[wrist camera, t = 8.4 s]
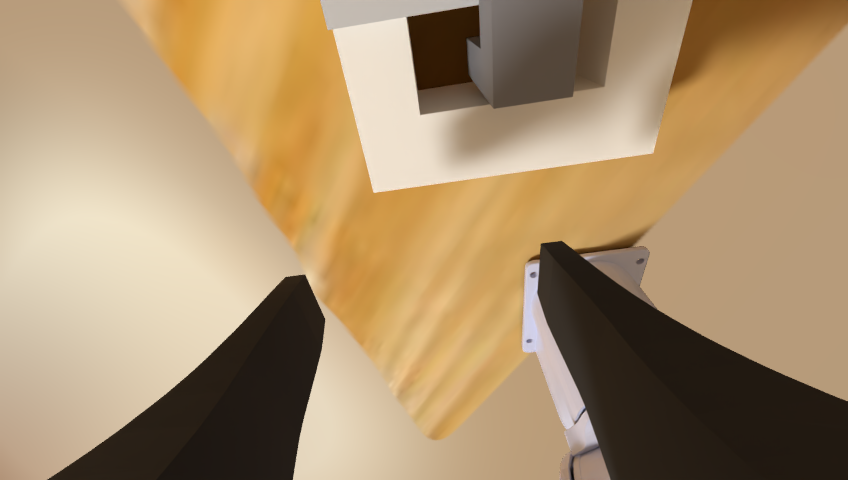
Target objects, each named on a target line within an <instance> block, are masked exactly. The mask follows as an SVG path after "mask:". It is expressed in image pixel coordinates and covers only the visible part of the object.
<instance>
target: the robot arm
mask: <svg viewBox="0 0 848 480" xmlns="http://www.w3.org/2000/svg"><path fill="white" fill-rule="evenodd" d="M648 257H649V250H648V249H647V248H646V247H644V246H640V247H632V248H624V249H617V250H609V251H601V252H593V253H585V254H578V253H577V252H575V251H574V250H573V249H572V248H570V247H569V246H568V245H566V244H565V243H564V242H562V241H558V242H550V243H543V244H541V249H540V259H539V260H532V261H529V262H528V263H527V264H526V266H525V282H524V305H523V328H522V349H523V351H524V352H536V353H537V355H538V359H539V361H540V364H541V367H542V370H543V373H544V375H545V378H546V381H547V384H548V387H549V389H550V392H551V395H552V398H553V401H554V403H555V406H556V409H557V412H558V414H559V417H560V419H561V421H562V423H563V425H564V427H565V428H566V429H567V430H566V431H565V432H564V433H565V436H566V439H567V442H568V445H569V447H570V450H571V452H569V453H567V454H566V455H565V456H564V457H563V458H562V461H561V465H560V480H848V401H845V400H843V399H840V398H837V397H835V396H833V395H830V394H828V393H825V392H823V391H820V390H818V389H816V388H813V387H811V386H809V385H806V384H804V383H802V382H799V381H797V380H795V379H792V378H790V377H788V376H785V375H783V374H781V373H779V372H776V371H774V370H772V369H770V368H767V367H765V366H763V365H761V364H759V363H757V362H754V361H752V360H750V359H748V358H746V357H744V356H742V355H740V354H738V353H736V352H734V351H732V350H730V349H728V348H726V347H724V346H722V345H720V344H718V343H716V342H714V341H712V340H710V339H708V338H706V337H704V336H702V335H701V334H699V333H697V332H695V331H693V330H691V329H690V328H688V327H686V326H684V325H683V324H681V323H679V322H677V321H676V320H674V319H672V318H670V317H669V316H667V315H665V314H664V313H662V312H660V311H659V310H657V308H656V307H655V306H654V304H653V303H652V302H651V301H650V299H649V298H648V297H647V296H646V294H645V293H644V292H643V291H642V289H641V288H640V287H639V286H640V283H641V280H642V276H643V273H644V270H645V267H646V264H647V260H648ZM638 259H639V260H638ZM532 272H535V273H534V274H531V273H532ZM324 326H325V318H324V316H323V313H322V311H321V309H320V307H319V305H318V302H317V300H316V298H315V296H314V293H313V291H312V289H311V287H310V285H309V282H308V280H307V278H306V276H305V275H298V276H290V277H285V278H284V279H283V280H282V281H281V282H280V283H279V284H278V285H277V286H276V288H275V289H274V290H273V291H272V292H271V293H270V294H269V295H268V296H267V297H266V298H265V299H264V301H262V303H261V304H260V305H259V306H258V307H257V308H256V309H255V310H254V311H253V312H252V313H251V314H250V315H249V316H248V317H247V319H246V320H245V321H244V322H243V323H242V324H241V325H240V326H239V327H238V328H237V329H236V330H235V331H234V332H233V333H232V334H231V335H230V336H229V337H228V338H227V339H226V340H225V341H224V342H223V343H222V344H221V345H220V346H219V347H218V348H217V349H216V350H215V351H214V352H213V353H212V354H211V355H210V356H209V357H208V358H207V359H206V360H204V361H203V362H202V363H201V364H200V365H199V366H198V367H197V368H196V369H195V370H194V371H192V372H191V373H190V374H189V375H188V376H187V377H186V378H184V379H183V380H182V381H181V382H180V383H178V384H177V385H176V386H175V387H174V388H173V389H171V390H170V391H169V392H168V393H167V394H166V395H164V396H163V397H162V398H161V399H159V400H158V401H157V402H155V403H154V404H153V405H151V406H150V407H149V408H148V409H146V410H145V411H144V412H142V413H141V414H140V415H139V416H137V417H136V418H135V419H133V420H132V421H131V422H129V423H128V424H127V425H126V426H124V427H123V428H122V429H120V430H119V431H118V432H116V433H115V434H113V435H112V436H111V437H109V438H108V439H106V440H105V441H104V442H102V443H101V444H99V445H98V446H97V447H95V448H94V449H92V450H91V451H90V452H88V453H87V454H85V455H84V456H82V457H81V458H79V459H78V460H76V461H75V462H73V463H72V464H70V465H69V466H67V467H66V468H65V469H63V470H62V471H60V472H59V473H57V474H55V475H54V476H52V477H51V478H49V479H48V480H293V474H294V468H295V462H296V456H297V449H298V443H299V437H300V433H301V428H302V423H303V419H304V415H305V411H306V408H307V404H308V400H309V397H310V393H311V389H312V385H313V381H314V377H315V374H316V370H317V366H318V362H319V358H320V354H321V350H322V343H323V334H324Z"/></svg>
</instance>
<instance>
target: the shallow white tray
mask: <svg viewBox="0 0 848 480" xmlns="http://www.w3.org/2000/svg"><path fill="white" fill-rule="evenodd" d="M320 1H321V5H322V9H323V13H324V17H325V21H326V25H327V28H328V30H332V29H333V32H334V36H335V40H336V44H337V48H338V52H339V56H340V60H341V64H342V68H343V72H344V76H345V80H346V84H347V88H348V92H349V96H350V100H351V104H352V108H353V112H354V116H355V120H356V124H357V128H358V132H359V136H360V140H361V144H362V148H363V152H364V156H365V160H366V164H367V168H368V172H369V176H370V180H371V184H372V188H373V192H374V193H376V192H383V191H390V190H397V189H404V188H411V187H418V186H425V185H432V184H439V183H446V182H453V181H461V180H468V179H475V178H482V177H489V176H496V175H503V174H510V173H517V172H524V171H531V170H538V169H545V168H552V167H559V166H567V165H574V164H581V163H588V162H595V161H602V160H609V159H616V158H623V157H630V156H637V155H644V154H651V153H653V151H654V147H655V143H656V140H657V136H658V132H659V128H660V124H661V120H662V116H663V113H664V109H665V105H666V101H667V97H668V93H669V90H670V86H671V82H672V78H673V74H674V70H675V66H676V63H677V59H678V55H679V51H680V47H681V43H682V40H683V36H684V32H685V28H686V24H687V20H688V17H689V13H690V9H691V5H692V1H693V0H583V9H582V19H581V28H580V37H579V46H578V55H577V65H576V74H575V83H574V92H573V97H569V98H562V99H556V100H549V101H542V102H536V103H529V104H523V105H516V106H509V107H503V108H496V109H493V107H492V106H491V105H490V103H489V102H488V101H487V99H486V98H485V97H484V95H483V94H482V92H481V91H480V90H479V88H478V87H477V86H476V84H475V83H474V82H469V83H462V84H456V85H449V86H443V87H437V88H430V89H424V90H418V88H417V81H416V73H415V66H414V59H413V52H412V45H411V38H410V30H409V23H408V17H409V16H415V15H421V14H427V13H433V12H439V11H445V10H451V9H457V8H463V7H469V6H475V5H479V0H320Z"/></svg>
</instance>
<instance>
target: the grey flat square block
mask: <svg viewBox="0 0 848 480" xmlns="http://www.w3.org/2000/svg"><path fill="white" fill-rule="evenodd" d="M582 9H583V0H479V18H480V36H475V37H469V38H466V42H467V59H468V75H469V76H470V78H471V79H472V80H473V82H474V83H475V84H476V86H477V87H478V88H479V90H480V91H481V92H482V94H483V95H484V97H485V98H486V99H487V101H488V102H489V103H490V105H491V106H492V107H493V109H496V108H503V107H509V106H516V105H523V104H529V103H536V102H542V101H549V100H556V99H562V98H569V97H573V92H574V83H575V74H576V65H577V55H578V46H579V37H580V28H581V19H582Z"/></svg>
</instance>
